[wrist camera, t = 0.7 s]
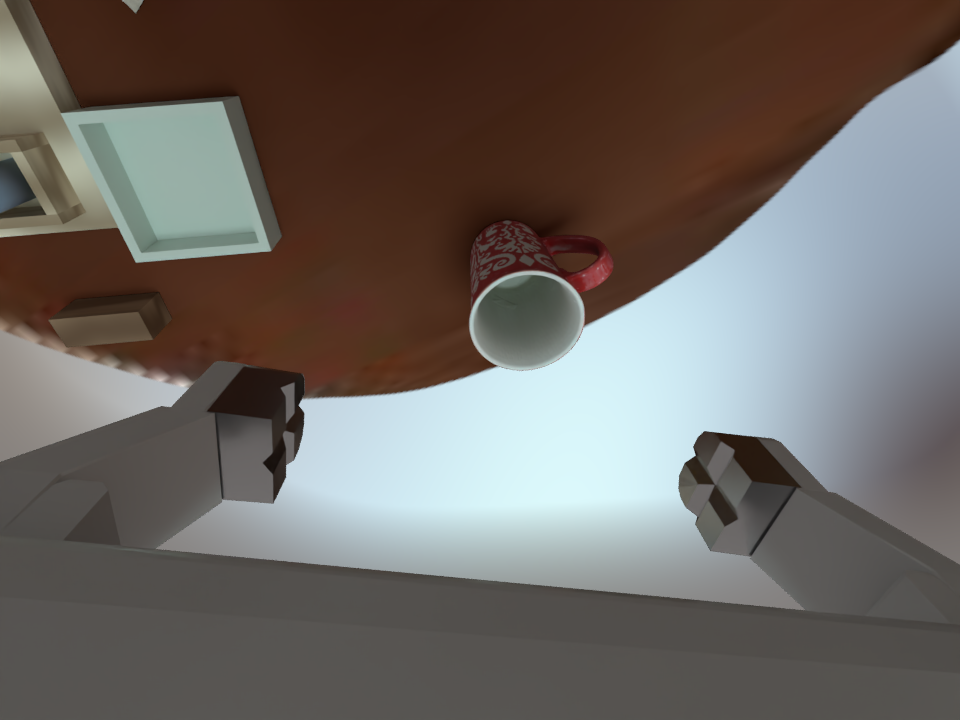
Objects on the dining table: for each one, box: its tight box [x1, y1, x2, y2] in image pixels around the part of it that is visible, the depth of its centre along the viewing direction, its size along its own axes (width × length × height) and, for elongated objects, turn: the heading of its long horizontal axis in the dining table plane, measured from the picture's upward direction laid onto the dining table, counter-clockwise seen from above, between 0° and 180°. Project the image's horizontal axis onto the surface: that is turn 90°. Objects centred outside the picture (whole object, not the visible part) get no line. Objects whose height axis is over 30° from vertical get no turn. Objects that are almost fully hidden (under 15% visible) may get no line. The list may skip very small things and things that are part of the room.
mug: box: [469, 220, 613, 371], centre depth 42 cm, size 13×9×14 cm
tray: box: [61, 96, 282, 263], centre depth 39 cm, size 12×12×4 cm
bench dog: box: [49, 292, 172, 347], centre depth 46 cm, size 3×8×4 cm, turn 93°
